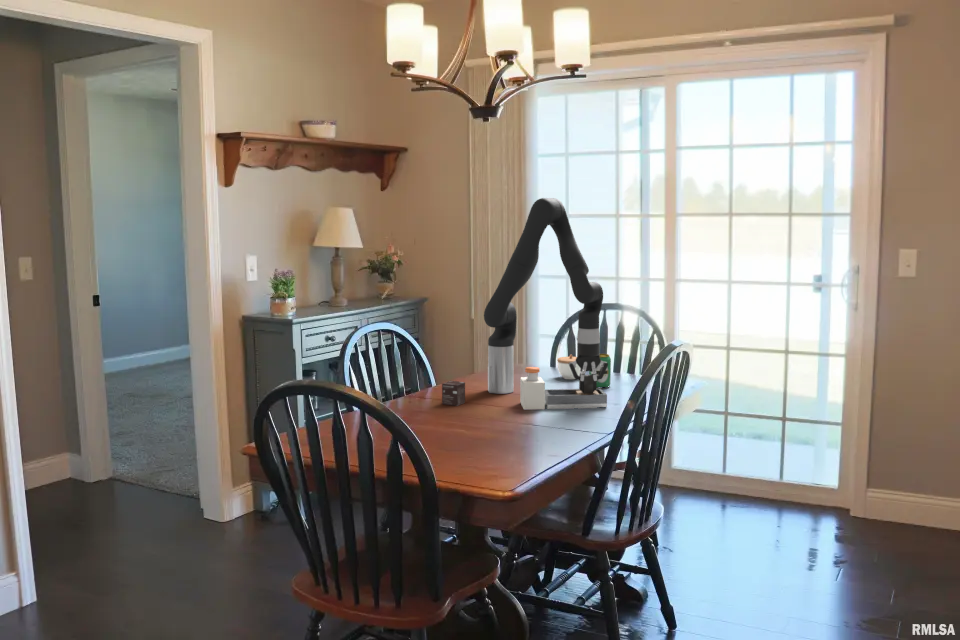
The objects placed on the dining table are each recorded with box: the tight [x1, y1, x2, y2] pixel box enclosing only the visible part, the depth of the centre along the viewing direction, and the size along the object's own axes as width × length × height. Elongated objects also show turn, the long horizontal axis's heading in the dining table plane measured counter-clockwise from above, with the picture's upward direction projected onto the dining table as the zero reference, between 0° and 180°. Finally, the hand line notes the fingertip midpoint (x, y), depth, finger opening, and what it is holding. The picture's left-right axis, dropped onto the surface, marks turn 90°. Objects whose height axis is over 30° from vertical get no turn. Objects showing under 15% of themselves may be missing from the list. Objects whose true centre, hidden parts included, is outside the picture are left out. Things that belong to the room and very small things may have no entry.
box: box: [441, 380, 466, 407], centre depth 283 cm, size 6×6×7 cm
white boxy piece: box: [519, 376, 546, 410], centre depth 279 cm, size 7×10×9 cm
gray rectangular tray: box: [545, 388, 608, 410], centre depth 280 cm, size 20×10×4 cm, turn 94°
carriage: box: [576, 374, 599, 395], centre depth 280 cm, size 7×7×8 cm
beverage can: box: [588, 353, 612, 388], centre depth 310 cm, size 8×8×12 cm
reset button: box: [524, 366, 541, 381], centre depth 278 cm, size 5×5×5 cm
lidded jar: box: [556, 354, 581, 380], centre depth 327 cm, size 11×11×9 cm
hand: (587, 391), depth 280 cm, fingers closed on carriage, 3 cm apart
